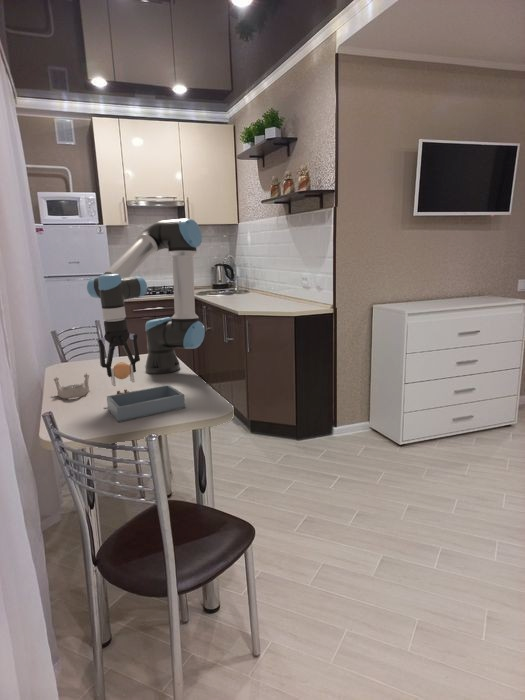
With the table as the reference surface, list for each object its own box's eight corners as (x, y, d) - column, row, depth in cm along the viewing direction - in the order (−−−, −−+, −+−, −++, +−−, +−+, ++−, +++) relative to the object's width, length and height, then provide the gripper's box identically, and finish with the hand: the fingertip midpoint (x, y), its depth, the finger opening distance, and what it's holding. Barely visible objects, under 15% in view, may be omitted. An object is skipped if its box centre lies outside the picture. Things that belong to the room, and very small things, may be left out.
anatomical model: (54, 400, 164) (51, 373, 166) (56, 404, 174) (53, 378, 176) (92, 394, 169) (88, 368, 171) (92, 398, 179) (88, 373, 181)
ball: (128, 375, 167) (126, 359, 166) (133, 379, 162) (131, 362, 160) (112, 378, 164) (109, 362, 163) (116, 382, 159) (113, 365, 158)
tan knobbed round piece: (121, 398, 167) (120, 389, 166) (132, 398, 166) (131, 389, 165) (115, 402, 163) (114, 392, 162) (126, 402, 161) (125, 393, 161)
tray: (170, 396, 166) (168, 384, 165) (185, 407, 153) (184, 394, 152) (108, 409, 155) (106, 396, 154) (118, 422, 143) (117, 408, 142)
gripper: (138, 314, 166) (146, 375, 171) (84, 321, 156) (93, 386, 162) (144, 317, 159) (152, 380, 165) (88, 324, 150) (98, 391, 156)
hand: (123, 383), depth 163 cm, fingers closed on ball, 6 cm apart
